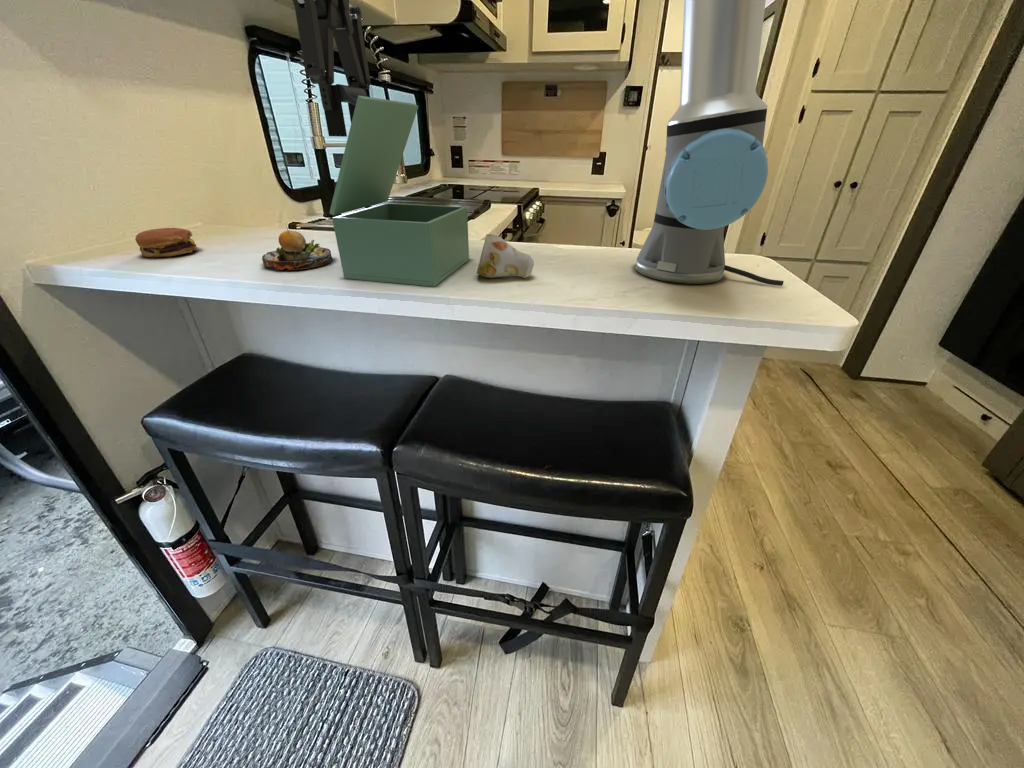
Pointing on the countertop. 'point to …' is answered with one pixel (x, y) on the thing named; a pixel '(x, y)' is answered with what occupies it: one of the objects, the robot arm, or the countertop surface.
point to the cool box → (402, 243)
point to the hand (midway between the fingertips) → (350, 136)
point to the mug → (503, 259)
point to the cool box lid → (371, 150)
